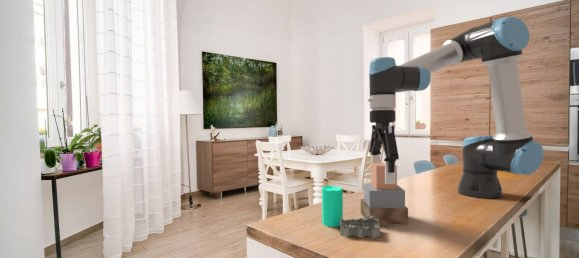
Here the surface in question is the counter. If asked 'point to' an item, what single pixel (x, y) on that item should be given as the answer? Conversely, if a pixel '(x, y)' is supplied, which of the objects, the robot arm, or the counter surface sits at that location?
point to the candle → (332, 205)
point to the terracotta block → (381, 177)
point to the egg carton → (360, 227)
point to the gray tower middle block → (384, 197)
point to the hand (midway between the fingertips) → (382, 179)
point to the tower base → (385, 214)
